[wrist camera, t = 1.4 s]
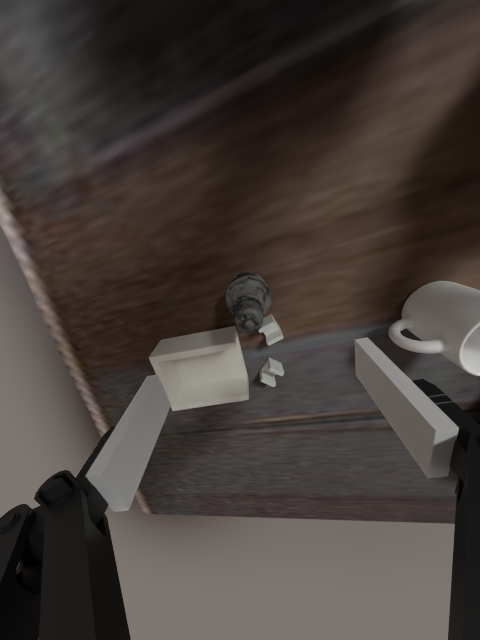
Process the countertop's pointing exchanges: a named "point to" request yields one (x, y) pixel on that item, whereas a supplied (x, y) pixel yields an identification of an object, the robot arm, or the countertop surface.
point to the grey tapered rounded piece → (248, 301)
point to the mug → (443, 323)
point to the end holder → (202, 369)
